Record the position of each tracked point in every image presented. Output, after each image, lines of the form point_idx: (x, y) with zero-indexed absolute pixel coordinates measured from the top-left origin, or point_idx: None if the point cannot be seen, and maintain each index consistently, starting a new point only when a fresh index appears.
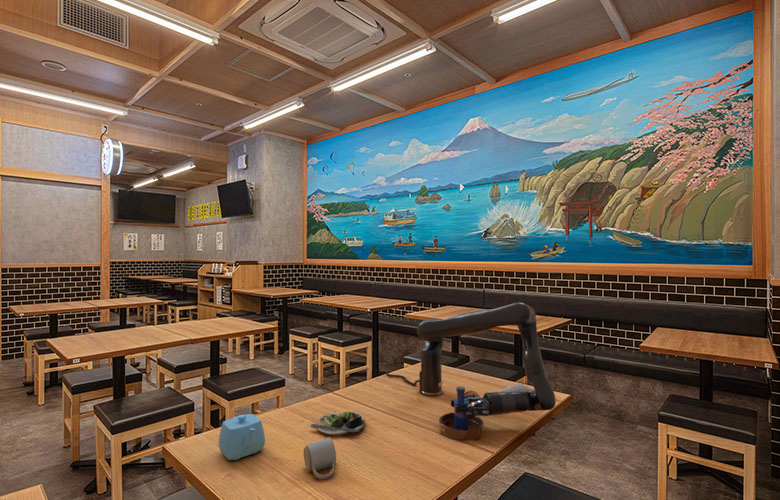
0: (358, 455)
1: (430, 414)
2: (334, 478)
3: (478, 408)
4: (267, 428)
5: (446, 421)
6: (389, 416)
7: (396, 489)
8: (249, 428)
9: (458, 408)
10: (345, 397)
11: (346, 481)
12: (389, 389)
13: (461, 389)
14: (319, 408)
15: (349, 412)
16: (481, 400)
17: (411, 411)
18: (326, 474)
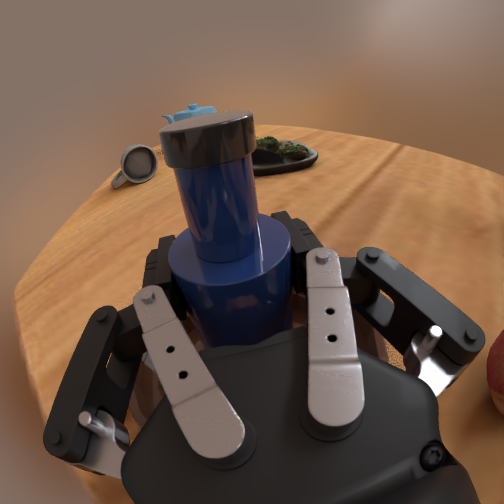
0: (158, 192)
1: (406, 261)
2: (112, 192)
3: (70, 361)
4: (256, 134)
5: (302, 298)
6: (342, 192)
7: (52, 243)
8: (181, 116)
9: (152, 251)
10: (395, 151)
11: (99, 201)
12: (480, 186)
13: (161, 129)
14: (334, 141)
15: (300, 147)
16: (211, 433)
17: (399, 221)
18: (111, 182)
